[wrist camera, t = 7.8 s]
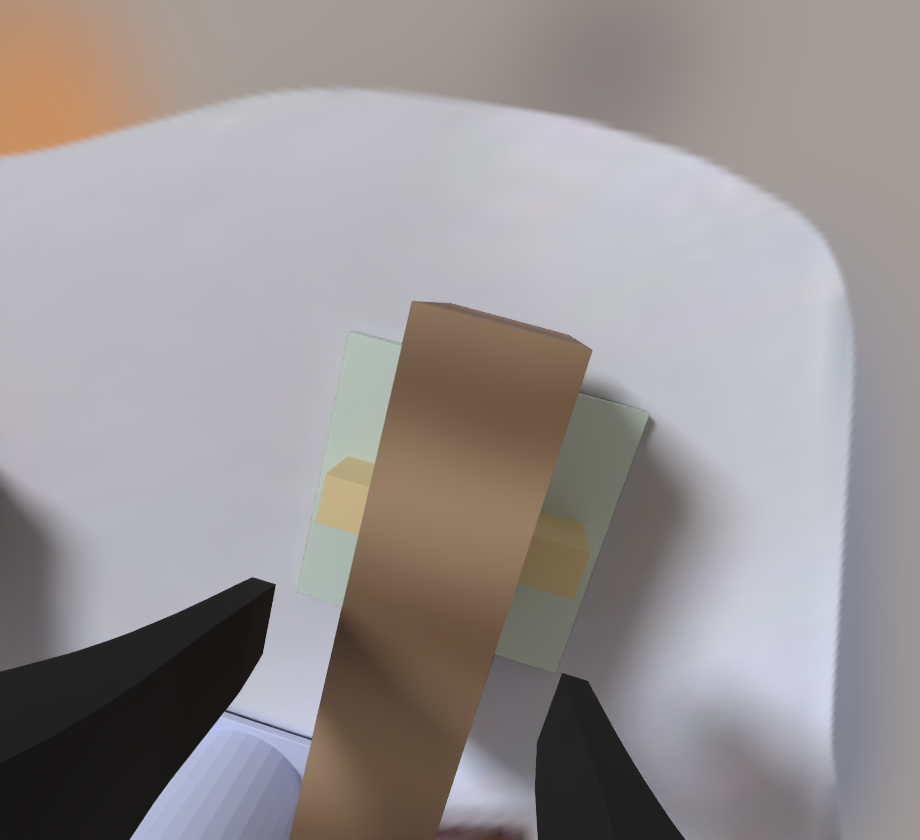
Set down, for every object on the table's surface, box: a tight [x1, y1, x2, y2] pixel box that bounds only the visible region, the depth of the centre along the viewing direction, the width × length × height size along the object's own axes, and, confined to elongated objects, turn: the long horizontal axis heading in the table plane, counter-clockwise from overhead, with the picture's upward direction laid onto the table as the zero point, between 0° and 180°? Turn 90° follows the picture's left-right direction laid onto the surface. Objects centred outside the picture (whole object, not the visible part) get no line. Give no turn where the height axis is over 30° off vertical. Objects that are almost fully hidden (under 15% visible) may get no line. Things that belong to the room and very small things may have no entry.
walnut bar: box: [289, 301, 592, 840], centre depth 16 cm, size 16×4×6 cm, turn 165°
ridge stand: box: [296, 331, 649, 674], centre depth 20 cm, size 12×12×3 cm
